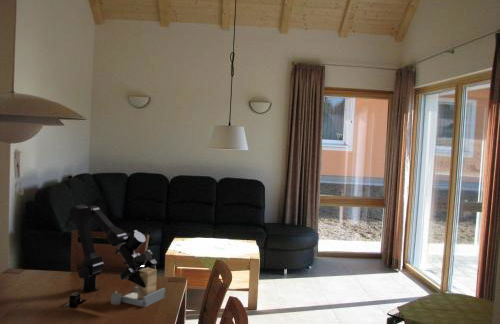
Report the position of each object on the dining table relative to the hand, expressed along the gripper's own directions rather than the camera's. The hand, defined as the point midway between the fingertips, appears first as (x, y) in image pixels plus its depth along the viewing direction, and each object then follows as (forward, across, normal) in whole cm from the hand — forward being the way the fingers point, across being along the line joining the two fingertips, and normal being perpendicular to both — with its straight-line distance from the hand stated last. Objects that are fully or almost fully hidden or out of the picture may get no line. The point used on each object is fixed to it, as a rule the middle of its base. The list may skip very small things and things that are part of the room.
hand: (149, 285), depth 194 cm
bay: (+2, -2, +9) cm, 10 cm away
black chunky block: (-12, -16, +25) cm, 32 cm away
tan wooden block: (+4, 0, +6) cm, 7 cm away
